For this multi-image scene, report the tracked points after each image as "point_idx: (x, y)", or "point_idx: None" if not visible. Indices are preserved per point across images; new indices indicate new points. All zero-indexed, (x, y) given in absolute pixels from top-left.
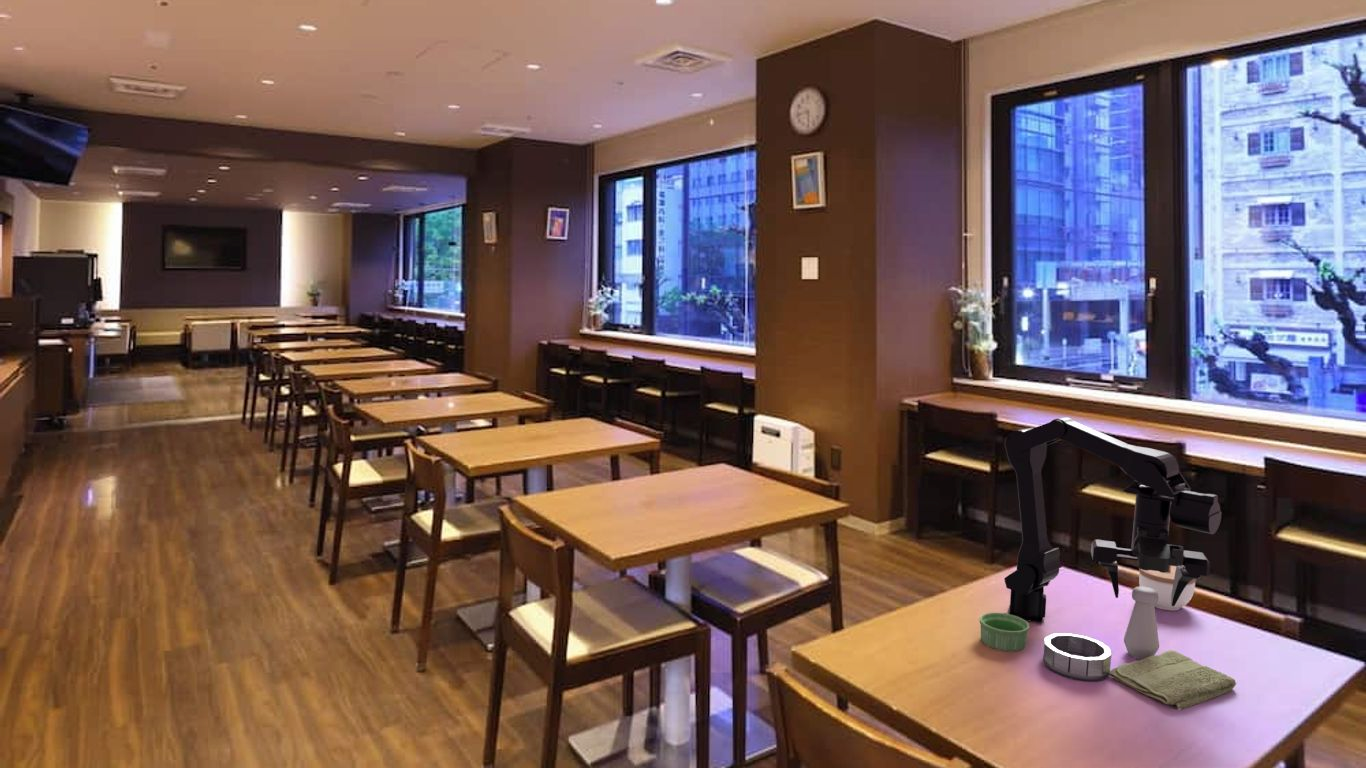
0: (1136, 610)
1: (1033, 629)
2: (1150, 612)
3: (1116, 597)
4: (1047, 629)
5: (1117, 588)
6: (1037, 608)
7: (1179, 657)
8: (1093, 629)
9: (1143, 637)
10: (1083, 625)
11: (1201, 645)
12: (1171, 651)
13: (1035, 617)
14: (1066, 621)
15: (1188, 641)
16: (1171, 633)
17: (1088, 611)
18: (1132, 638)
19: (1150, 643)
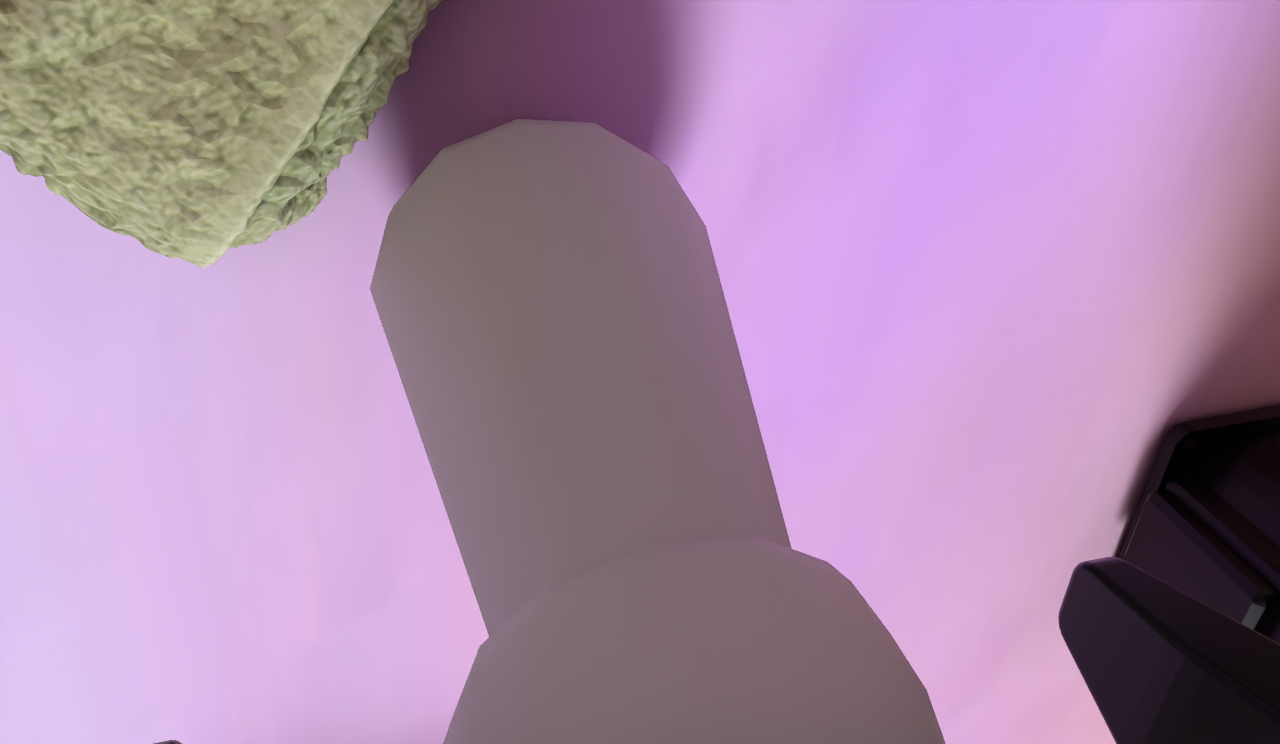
0: (743, 462)
1: (1264, 297)
2: (540, 472)
3: (1108, 559)
4: (1160, 350)
5: (1269, 687)
6: (1255, 514)
7: (107, 49)
8: (834, 518)
9: (558, 195)
10: (888, 543)
11: (80, 669)
12: (226, 186)
13: (1213, 460)
14: (985, 543)
15: (185, 680)
16: (316, 730)
17: None
18: (663, 202)
19: (466, 183)
